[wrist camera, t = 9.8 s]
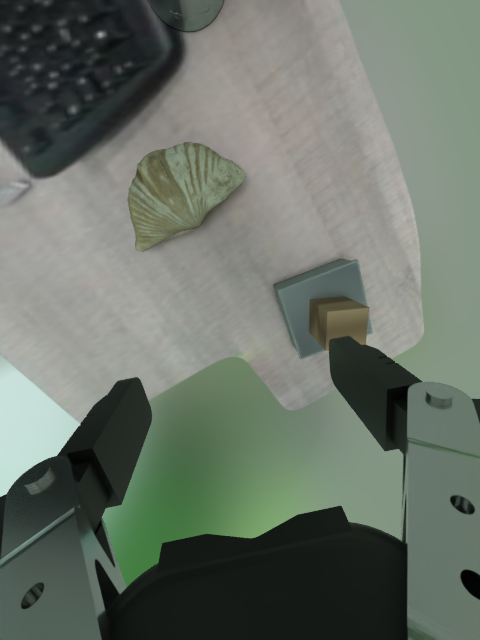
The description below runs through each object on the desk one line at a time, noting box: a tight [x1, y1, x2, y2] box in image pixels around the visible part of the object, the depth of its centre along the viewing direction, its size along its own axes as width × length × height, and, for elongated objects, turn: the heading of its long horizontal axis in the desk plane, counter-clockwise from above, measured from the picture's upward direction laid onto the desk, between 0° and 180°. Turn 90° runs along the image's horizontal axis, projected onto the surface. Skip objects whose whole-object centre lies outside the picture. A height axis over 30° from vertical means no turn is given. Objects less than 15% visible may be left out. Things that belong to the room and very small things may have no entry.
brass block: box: [309, 296, 369, 350], centre depth 32 cm, size 5×5×6 cm
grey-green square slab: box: [273, 259, 373, 359], centre depth 37 cm, size 11×11×5 cm
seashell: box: [128, 142, 246, 251], centre depth 30 cm, size 14×9×10 cm
